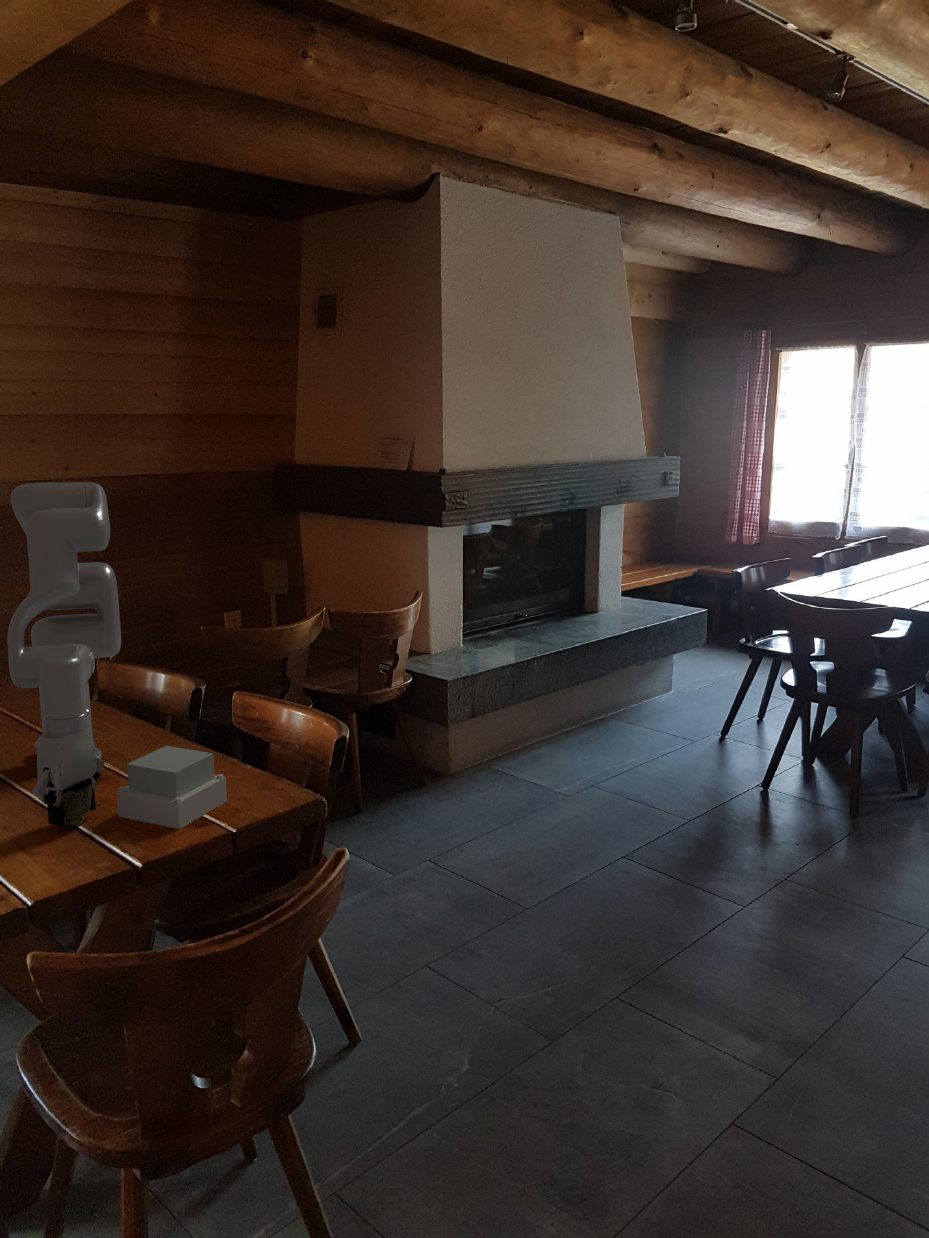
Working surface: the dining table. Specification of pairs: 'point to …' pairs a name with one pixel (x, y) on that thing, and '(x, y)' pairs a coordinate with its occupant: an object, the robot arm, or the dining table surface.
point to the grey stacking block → (171, 787)
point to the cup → (76, 802)
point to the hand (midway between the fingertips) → (72, 816)
